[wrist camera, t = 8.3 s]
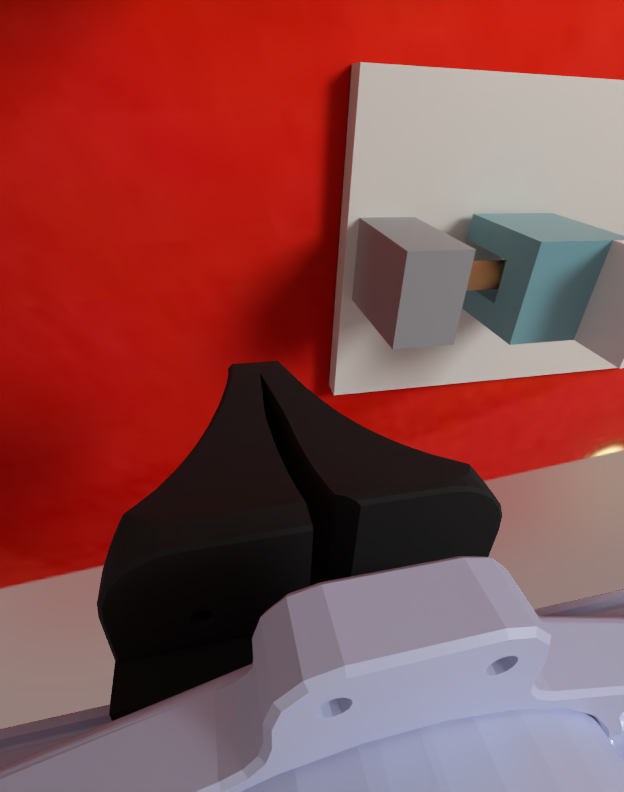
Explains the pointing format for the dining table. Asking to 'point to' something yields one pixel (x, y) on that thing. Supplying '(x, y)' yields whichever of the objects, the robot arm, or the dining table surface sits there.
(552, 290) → the slider block
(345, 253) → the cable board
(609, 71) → the dining table surface
